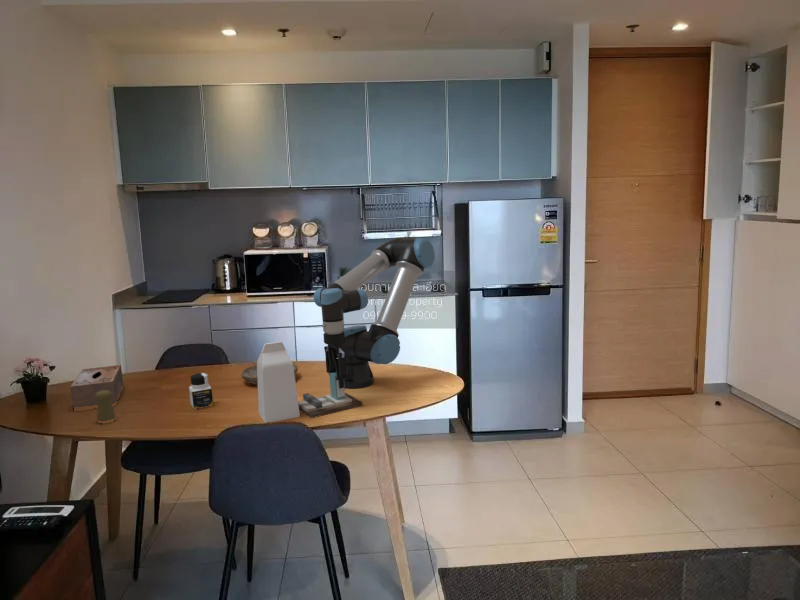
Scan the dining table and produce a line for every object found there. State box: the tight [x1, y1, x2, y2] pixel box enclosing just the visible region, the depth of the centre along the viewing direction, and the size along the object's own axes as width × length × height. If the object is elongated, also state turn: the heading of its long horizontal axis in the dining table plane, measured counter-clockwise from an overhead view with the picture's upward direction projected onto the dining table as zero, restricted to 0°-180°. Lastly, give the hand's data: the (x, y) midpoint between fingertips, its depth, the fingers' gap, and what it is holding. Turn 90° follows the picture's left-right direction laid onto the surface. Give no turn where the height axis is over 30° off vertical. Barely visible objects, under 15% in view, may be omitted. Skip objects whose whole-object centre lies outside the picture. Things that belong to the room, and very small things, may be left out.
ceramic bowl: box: [240, 363, 299, 385], centre depth 256 cm, size 23×24×5 cm
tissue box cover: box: [69, 364, 124, 408], centre depth 241 cm, size 26×14×10 cm, turn 18°
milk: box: [256, 341, 301, 424], centre depth 212 cm, size 12×12×26 cm
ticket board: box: [298, 392, 363, 419], centre depth 220 cm, size 14×20×4 cm
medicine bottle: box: [188, 372, 214, 410], centre depth 228 cm, size 7×7×12 cm
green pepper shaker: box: [95, 390, 116, 421], centre depth 215 cm, size 6×6×11 cm
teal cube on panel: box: [324, 372, 352, 405], centre depth 222 cm, size 10×6×10 cm, turn 32°
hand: (337, 394), depth 222 cm, fingers closed on teal cube on panel, 4 cm apart
